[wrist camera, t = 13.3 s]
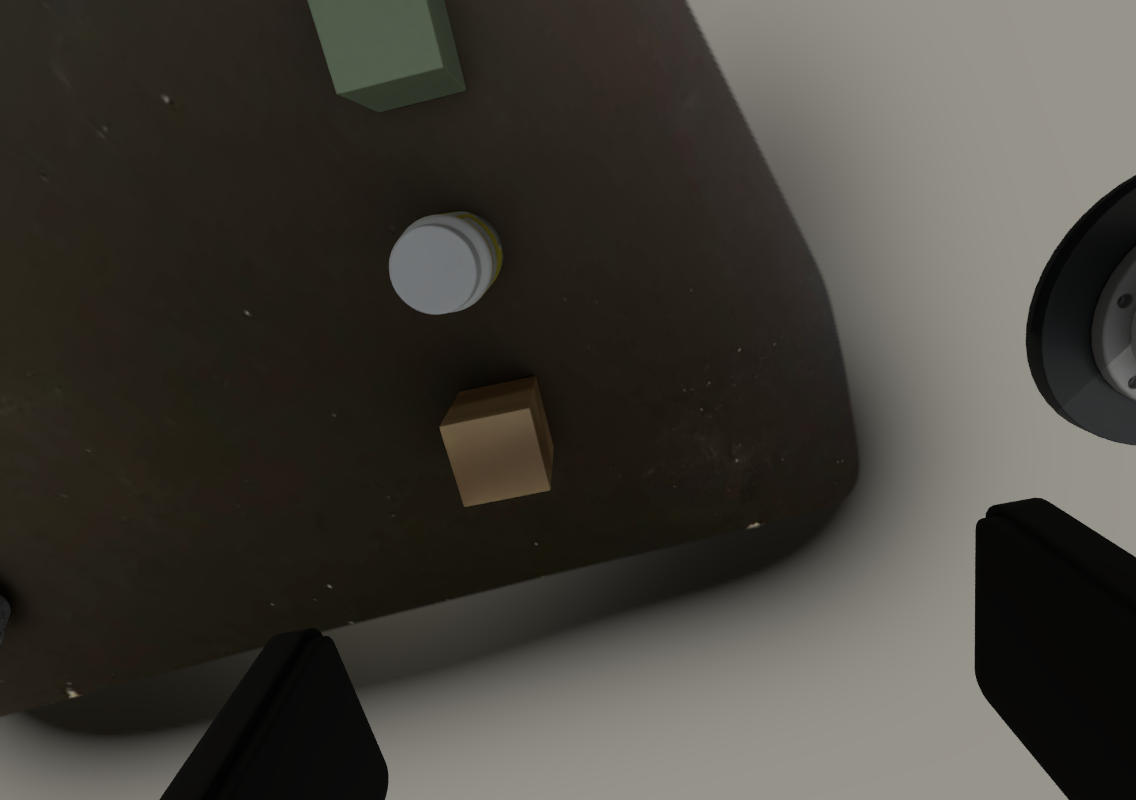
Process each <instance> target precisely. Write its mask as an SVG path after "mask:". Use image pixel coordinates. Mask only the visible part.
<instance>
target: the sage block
mask: <svg viewBox="0 0 1136 800" xmlns="http://www.w3.org/2000/svg"><path fill="white" fill-rule="evenodd" d="M307 1H308V4H309V7H310V11H311V14H312V17H313V20H314V23H315V27H316V30H317V33H318V36H319V39H320V43H321V46H322V49H323V52H324V55H325V59H326V62H327V65H328V68H329V71H330V75H331V78H332V81H333V84H334V87H335V91H336V93H337V94H338V95H340V96H342V97H345V98H347V99H349V100H351V101H354V102H356V103H358V104H360V105H363V106H365V107H367V108H370V109H372V110H374V111H376V112H383V111H387V110H391V109H395V108H399V107H403V106H407V105H411V104H415V103H419V102H423V101H427V100H431V99H435V98H439V97H443V96H447V95H451V94H455V93H459V92H463V91H466V86H465V82H464V78H463V74H462V70H461V66H460V62H459V58H458V54H457V50H456V46H455V42H454V37H453V33H452V29H451V25H450V21H449V17H448V13H447V9H446V5H445V1H444V0H307Z"/></svg>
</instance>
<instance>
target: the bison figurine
mask: <svg viewBox="0 0 1136 800" xmlns="http://www.w3.org/2000/svg"><path fill="white" fill-rule="evenodd" d="M10 612H11V610H10V605H9V603H8V602H7V600H6V599H5V598H4V597H3V596H2V595H1V594H0V645H1V643H2V642H3V639H4V635H5V630H6V627H7V623H8V619H9V616H10Z"/></svg>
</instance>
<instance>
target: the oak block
mask: <svg viewBox="0 0 1136 800" xmlns="http://www.w3.org/2000/svg"><path fill="white" fill-rule="evenodd" d="M439 428H440V432H441V435H442V438H443V441H444V444H445V447H446V451H447V454H448V457H449V460H450V463H451V467H452V470H453V473H454V476H455V479H456V483H457V486H458V489H459V492H460V495H461V499H462V502H463V505H464V507H467V506H472V505H477V504H482V503H488V502H493V501H498V500H503V499H508V498H513V497H519V496H524V495H529V494H534V493H539V492H544V491H549V490H550V488H551V474H552V461H553V442H552V438H551V434H550V430H549V426H548V422H547V418H546V414H545V410H544V406H543V402H542V398H541V394H540V390H539V386H538V382H537V378H536V376H533V377H528V378H523V379H518V380H513V381H509V382H504V383H499V384H494V385H490V386H485V387H480V388H475V389H471V390H466V391H461V392H459V393H458V395H457V397H456V399H455V400H454V402H453V404H452V406H451V407H450V409H449V411H448V412H447V414H446V416H445V418H444V419H443V421H442V423H441V424H440V426H439Z"/></svg>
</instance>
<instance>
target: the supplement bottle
mask: <svg viewBox="0 0 1136 800" xmlns="http://www.w3.org/2000/svg"><path fill="white" fill-rule="evenodd" d="M502 264H503V247H502V243H501V240H500V238H499V235H498V234H497V232H496V230H495V229H494V228H493V227H492V225H491V224H490V223H489V222H487V221H486V220H485V219H483V218H482V217H480V216H478V215H476V214H473V213H470V212H462V211H458V212H449V213H444V214H437V215H430V216H426V217H423V218H420V219H419V220H417V221H415V222H414V223H412V224H411V225H410V226H409V227H408V228H407V229H406V230H405V231H404V232H403V234H402V235H401V237H400V238H399V240H398V241H397V242H396V244H395V245H394V247H393V249H392V252H391V255H390V260H389V274H390V279H391V282H392V285H393V287H394V289H395V291H396V292H397V294H398V295H399V296H400V298H401V299H402V300H403V301H404V302H405V303H406V304H408V305H409V306H410V307H412V308H414V309H416V310H418V311H420V312H423V313H427V314H436V315H437V314H445V313H449V312H457V311H460V310H463V309H466V308H468V307H470V306H471V305H473V304H474V303H475V302H477V301H478V300H479V299H480V298H481V297H482V296H483V294H484V293H485V292H486V291H487V290H488V288H489V287H490V286H491V285H492V284H493V282H494V281H495V280H496V278H497V277H498V275H499V273H500V271H501V268H502Z"/></svg>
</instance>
